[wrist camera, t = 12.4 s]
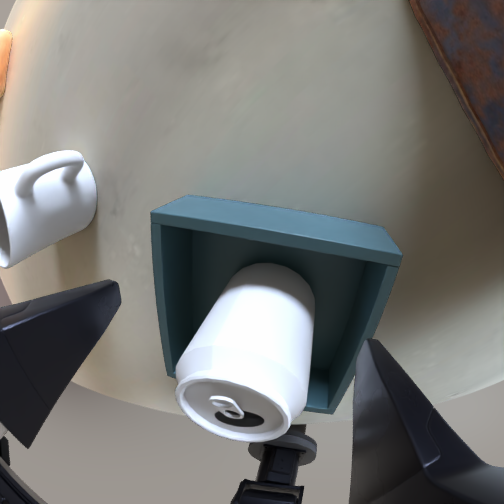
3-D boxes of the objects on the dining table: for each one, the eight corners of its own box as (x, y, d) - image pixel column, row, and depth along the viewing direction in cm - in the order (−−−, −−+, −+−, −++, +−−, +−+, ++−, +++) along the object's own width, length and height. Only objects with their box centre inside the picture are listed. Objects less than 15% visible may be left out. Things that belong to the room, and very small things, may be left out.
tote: (334, 372, 25) (332, 414, 20) (189, 341, 28) (166, 375, 23) (383, 226, 19) (403, 254, 14) (187, 194, 21) (150, 211, 16)
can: (243, 337, 25) (197, 443, 14) (216, 267, 23) (137, 366, 12) (322, 327, 23) (312, 450, 12) (304, 249, 20) (284, 367, 10)
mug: (74, 242, 27) (3, 283, 17) (45, 184, 25) (-27, 210, 15) (130, 184, 22) (33, 219, 12) (94, 115, 20) (-1, 122, 11)
